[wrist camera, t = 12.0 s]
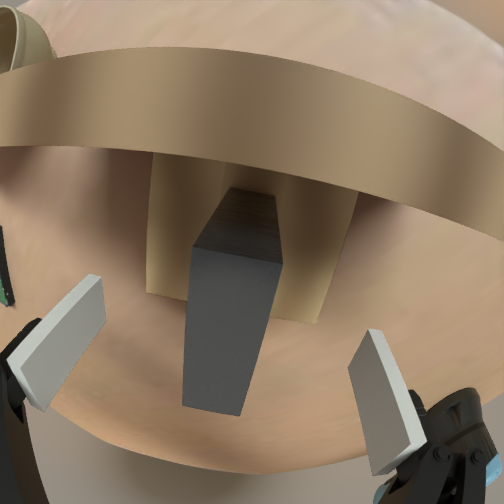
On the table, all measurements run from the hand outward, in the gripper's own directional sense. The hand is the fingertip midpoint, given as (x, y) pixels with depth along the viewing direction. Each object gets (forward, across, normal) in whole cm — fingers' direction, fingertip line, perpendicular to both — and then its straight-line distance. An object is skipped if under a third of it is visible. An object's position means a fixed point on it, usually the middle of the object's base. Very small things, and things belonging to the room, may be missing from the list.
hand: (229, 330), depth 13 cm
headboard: (+17, 0, -3) cm, 17 cm away
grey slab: (+14, 0, 0) cm, 14 cm away
